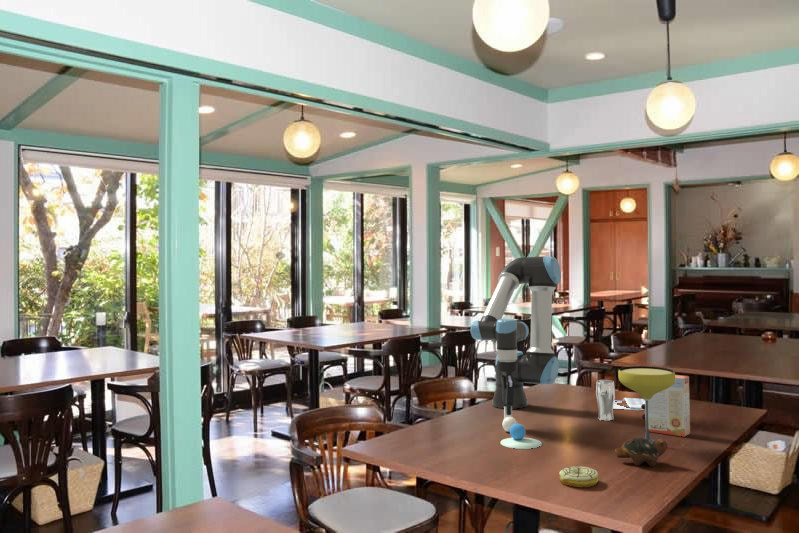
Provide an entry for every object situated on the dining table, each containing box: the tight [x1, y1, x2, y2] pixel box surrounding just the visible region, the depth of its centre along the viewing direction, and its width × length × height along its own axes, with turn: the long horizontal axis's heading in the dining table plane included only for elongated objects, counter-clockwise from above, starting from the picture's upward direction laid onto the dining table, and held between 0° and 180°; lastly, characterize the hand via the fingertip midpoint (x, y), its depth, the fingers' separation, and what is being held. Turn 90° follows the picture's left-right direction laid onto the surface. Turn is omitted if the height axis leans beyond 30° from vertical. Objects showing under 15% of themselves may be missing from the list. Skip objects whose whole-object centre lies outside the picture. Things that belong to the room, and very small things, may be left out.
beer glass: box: [595, 379, 616, 422], centre depth 255 cm, size 7×7×15 cm
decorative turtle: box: [614, 437, 668, 468], centre depth 200 cm, size 10×15×8 cm, turn 80°
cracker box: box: [644, 374, 691, 438], centre depth 234 cm, size 14×6×21 cm, turn 47°
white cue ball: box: [501, 416, 518, 433], centre depth 240 cm, size 6×6×6 cm
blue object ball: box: [509, 423, 527, 440], centre depth 229 cm, size 6×6×6 cm
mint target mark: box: [500, 437, 543, 450], centre depth 224 cm, size 14×14×1 cm
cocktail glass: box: [617, 365, 676, 443], centre depth 220 cm, size 18×18×25 cm
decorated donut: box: [559, 465, 600, 489], centre depth 184 cm, size 10×11×4 cm
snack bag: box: [613, 397, 645, 411], centre depth 279 cm, size 19×20×2 cm
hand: (508, 422), depth 245 cm, fingers closed
